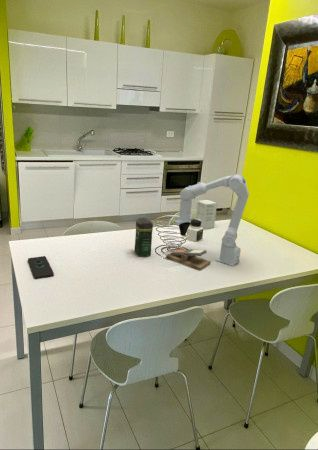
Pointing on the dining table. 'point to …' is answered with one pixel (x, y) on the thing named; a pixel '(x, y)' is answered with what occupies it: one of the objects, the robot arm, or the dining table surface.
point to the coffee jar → (143, 237)
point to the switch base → (189, 261)
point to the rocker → (189, 252)
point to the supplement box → (206, 213)
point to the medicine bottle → (195, 230)
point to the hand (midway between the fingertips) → (182, 235)
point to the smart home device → (40, 267)
